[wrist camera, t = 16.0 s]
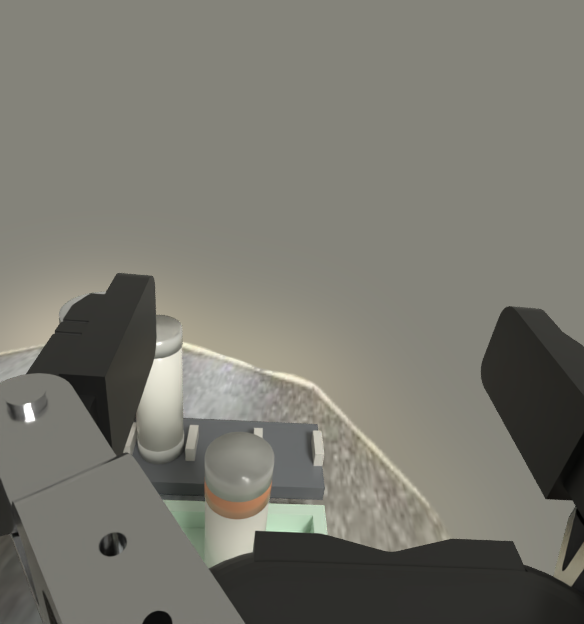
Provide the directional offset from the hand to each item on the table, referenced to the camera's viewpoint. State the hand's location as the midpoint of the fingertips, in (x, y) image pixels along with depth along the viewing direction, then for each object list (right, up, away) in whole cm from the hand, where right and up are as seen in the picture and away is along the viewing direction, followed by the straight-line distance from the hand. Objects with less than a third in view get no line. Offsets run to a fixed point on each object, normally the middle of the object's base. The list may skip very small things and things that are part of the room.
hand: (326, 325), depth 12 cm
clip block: (-7, -14, +36) cm, 39 cm away
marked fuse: (-5, -19, +25) cm, 32 cm away
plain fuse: (-13, -12, +35) cm, 39 cm away
